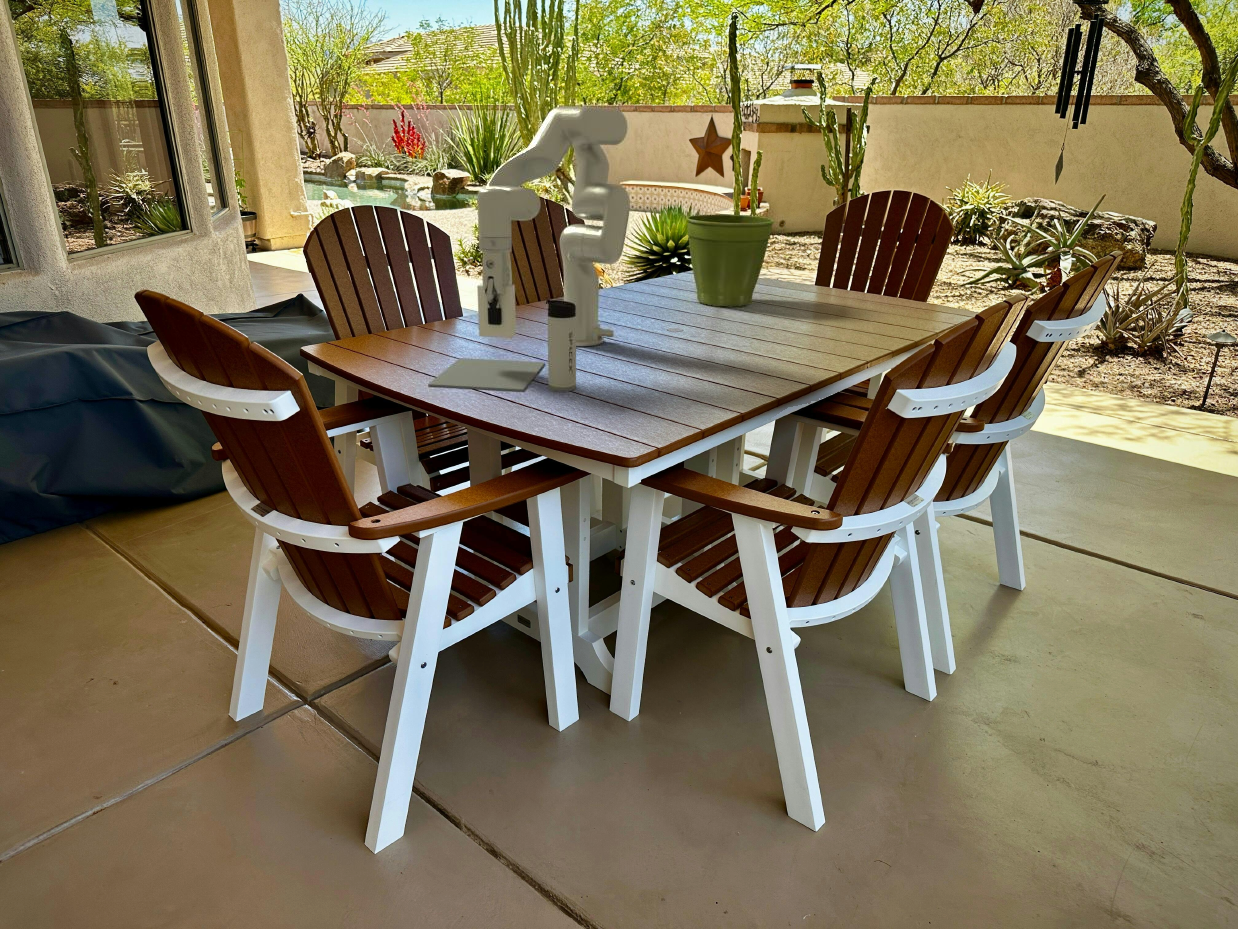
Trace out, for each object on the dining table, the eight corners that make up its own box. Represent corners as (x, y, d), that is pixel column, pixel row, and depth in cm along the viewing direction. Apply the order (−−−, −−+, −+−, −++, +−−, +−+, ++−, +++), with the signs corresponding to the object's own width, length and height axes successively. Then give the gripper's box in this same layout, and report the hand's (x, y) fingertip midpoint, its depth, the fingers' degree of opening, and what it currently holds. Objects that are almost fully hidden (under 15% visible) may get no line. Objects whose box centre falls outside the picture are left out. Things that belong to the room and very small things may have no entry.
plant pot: (684, 293, 301) (688, 213, 291) (765, 297, 298) (772, 215, 287) (679, 308, 274) (683, 220, 263) (768, 313, 270) (775, 223, 260)
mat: (544, 364, 204) (544, 362, 204) (523, 391, 182) (523, 389, 182) (459, 359, 206) (459, 357, 206) (428, 386, 184) (428, 384, 184)
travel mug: (547, 384, 187) (545, 297, 180) (575, 384, 188) (575, 297, 180) (547, 392, 181) (545, 303, 174) (576, 392, 182) (576, 303, 175)
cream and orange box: (515, 334, 198) (514, 284, 193) (511, 338, 194) (510, 287, 189) (484, 332, 198) (482, 283, 194) (479, 336, 194) (477, 285, 190)
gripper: (502, 248, 180) (504, 330, 187) (519, 241, 196) (521, 316, 202) (469, 247, 181) (472, 328, 188) (489, 239, 196) (491, 315, 203)
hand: (497, 321), depth 195 cm, fingers closed on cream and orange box, 4 cm apart
